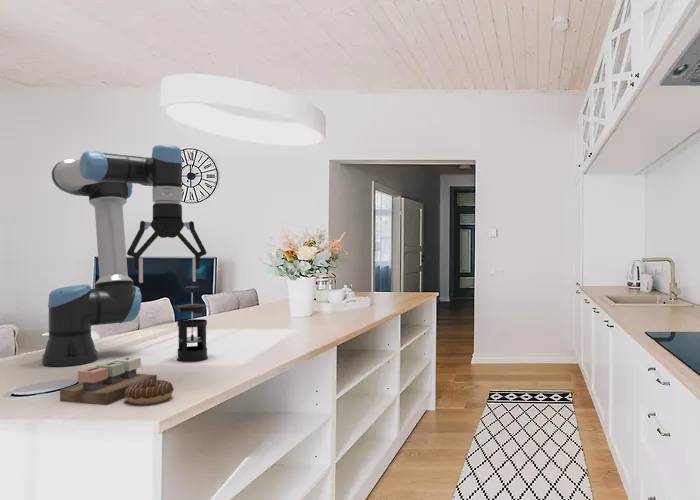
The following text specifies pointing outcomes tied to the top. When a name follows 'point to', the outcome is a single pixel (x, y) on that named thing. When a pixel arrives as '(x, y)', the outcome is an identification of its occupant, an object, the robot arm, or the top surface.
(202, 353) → the french press
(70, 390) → the keypad
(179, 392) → the top surface
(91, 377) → the terracotta key
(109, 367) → the sage key
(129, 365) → the cream key
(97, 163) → the robot arm
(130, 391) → the donut
